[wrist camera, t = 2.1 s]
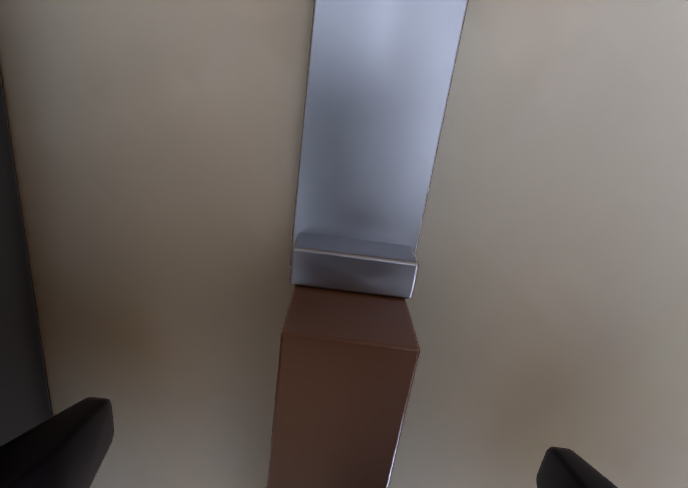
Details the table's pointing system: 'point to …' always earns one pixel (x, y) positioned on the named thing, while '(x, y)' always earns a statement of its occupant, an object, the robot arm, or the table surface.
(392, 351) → the knife
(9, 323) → the dish rack
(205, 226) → the table surface
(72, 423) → the robot arm
